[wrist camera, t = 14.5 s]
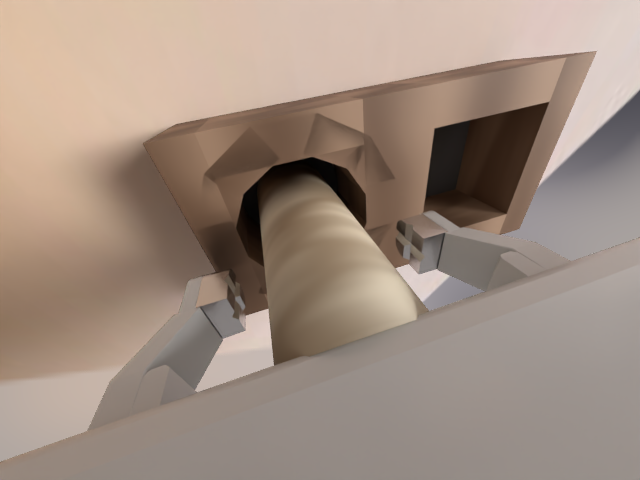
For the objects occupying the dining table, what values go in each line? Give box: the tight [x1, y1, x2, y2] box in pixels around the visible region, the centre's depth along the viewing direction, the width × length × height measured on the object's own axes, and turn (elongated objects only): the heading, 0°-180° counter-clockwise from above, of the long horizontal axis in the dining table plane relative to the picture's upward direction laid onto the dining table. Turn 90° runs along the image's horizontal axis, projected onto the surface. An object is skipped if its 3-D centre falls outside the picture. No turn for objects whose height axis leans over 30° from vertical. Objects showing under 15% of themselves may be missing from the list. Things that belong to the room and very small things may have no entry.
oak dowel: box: [257, 159, 429, 365], centre depth 10 cm, size 4×4×13 cm
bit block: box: [143, 51, 597, 316], centre depth 14 cm, size 20×10×5 cm, turn 100°
